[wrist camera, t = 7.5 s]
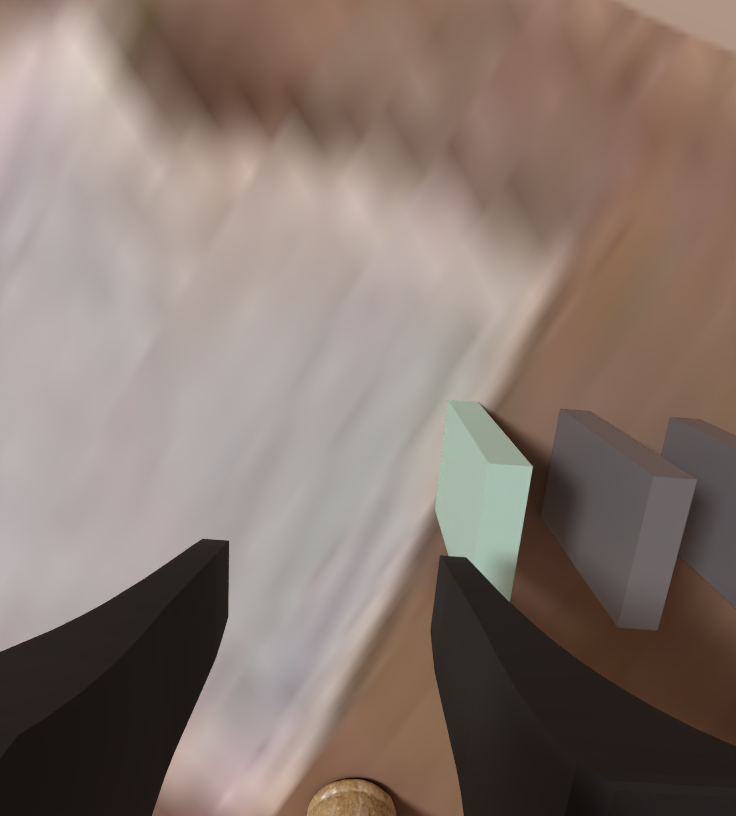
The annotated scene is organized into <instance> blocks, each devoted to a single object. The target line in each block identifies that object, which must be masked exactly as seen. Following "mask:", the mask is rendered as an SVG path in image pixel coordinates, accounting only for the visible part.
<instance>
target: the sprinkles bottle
mask: <svg viewBox="0 0 736 816" xmlns="http://www.w3.org/2000/svg"><path fill="white" fill-rule="evenodd" d="M307 816H396V809H395V807H394V803H393V801H392V799H391V797H390V796H389V795H388V794H387V793H386V792H384V791H383V790H382V789H381V788H380V787H378V786H377V785H375V784H373V783H371V782H368V781H365V780H360V779H351V780H350V779H344V780H340V781H335V782H332V783H330V784H328V785H326V786H325V787H323V788H322V789H321V790H320V791H319V792H318V793H317V794H315V796H314V797H313V799H312V801H311V802H310V804H309V807H308V811H307Z"/></svg>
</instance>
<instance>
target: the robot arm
mask: <svg viewBox="0 0 736 816" xmlns="http://www.w3.org/2000/svg"><path fill="white" fill-rule="evenodd" d="M228 587H229V541H225V540H210V539H202V540H200V541H199V542H197V543H196V544H194V545H193V546H191V547H190V548H188V549H187V550H185V551H184V552H183V553H181V554H180V555H178V556H177V557H175V558H174V559H173V560H171V561H170V562H168V563H167V564H165V565H164V566H162V567H161V568H159V569H158V570H157V571H155V572H154V573H152V574H151V575H149V576H148V577H146V578H145V579H143V580H142V581H140V582H138V583H137V584H135V585H134V586H132V587H130V588H129V589H127V590H125V591H124V592H122V593H120V594H119V595H117V596H116V597H114V598H112V599H111V600H109V601H107V602H106V603H104V604H102V605H100V606H99V607H97V608H95V609H93V610H91V611H89V612H88V613H86V614H84V615H82V616H80V617H78V618H76V619H74V620H72V621H70V622H68V623H66V624H64V625H62V626H60V627H58V628H55V629H53V630H51V631H49V632H47V633H44V634H42V635H39V636H37V637H35V638H32V639H30V640H28V641H25V642H23V643H20V644H18V645H16V646H13V647H11V648H9V649H6V650H4V651H1V652H0V816H152V813H153V810H154V807H155V804H156V801H157V798H158V795H159V792H160V789H161V786H162V784H163V781H164V778H165V775H166V772H167V770H168V767H169V765H170V762H171V760H172V757H173V755H174V752H175V750H176V747H177V745H178V743H179V741H180V738H181V736H182V734H183V732H184V729H185V727H186V725H187V723H188V720H189V718H190V716H191V714H192V711H193V709H194V707H195V705H196V702H197V700H198V698H199V696H200V693H201V691H202V689H203V686H204V684H205V682H206V680H207V677H208V675H209V673H210V670H211V668H212V666H213V663H214V661H215V659H216V656H217V653H218V650H219V646H220V643H221V640H222V637H223V633H224V630H225V626H226V623H227V619H228ZM431 640H432V651H433V660H434V669H435V675H436V680H437V684H438V689H439V693H440V698H441V702H442V707H443V711H444V716H445V720H446V724H447V729H448V733H449V738H450V742H451V747H452V751H453V755H454V760H455V764H456V769H457V774H458V779H459V785H460V790H461V797H462V804H463V812H464V816H736V747H735V746H733V745H731V744H729V743H726V742H724V741H722V740H720V739H717V738H715V737H713V736H711V735H708V734H706V733H704V732H702V731H700V730H697V729H695V728H693V727H691V726H689V725H687V724H685V723H683V722H681V721H679V720H677V719H675V718H674V717H672V716H670V715H668V714H666V713H664V712H662V711H660V710H658V709H656V708H654V707H653V706H651V705H649V704H647V703H646V702H644V701H642V700H640V699H638V698H637V697H635V696H633V695H631V694H630V693H628V692H627V691H625V690H623V689H622V688H620V687H619V686H617V685H615V684H614V683H612V682H611V681H609V680H607V679H606V678H604V677H603V676H601V675H599V674H598V673H596V672H595V671H594V670H592V669H591V668H589V667H588V666H586V665H585V664H583V663H582V662H581V661H579V660H578V659H577V658H575V657H574V656H572V655H571V654H570V653H568V652H567V651H566V650H564V649H563V648H562V647H560V646H559V645H558V644H557V643H555V642H554V641H553V640H552V639H550V638H549V637H548V636H547V635H545V634H544V633H543V632H542V631H541V630H540V629H539V628H537V627H536V626H535V625H534V624H533V623H532V622H531V621H529V620H528V619H527V618H526V617H525V616H524V615H523V614H522V613H521V612H520V611H518V610H517V609H516V608H515V607H514V606H513V605H512V604H511V603H510V602H509V601H508V600H507V599H506V598H505V597H504V596H503V595H502V594H501V593H500V592H499V591H498V590H497V589H496V588H495V587H494V586H493V585H492V584H491V583H490V582H489V580H488V579H487V578H486V577H485V576H484V575H483V574H482V573H481V572H480V571H479V570H478V569H477V568H476V567H475V566H474V565H473V564H472V563H471V562H470V561H469V560H468V559H467V558H466V557H456V556H441V555H440V561H439V569H438V577H437V584H436V592H435V600H434V608H433V615H432V623H431Z"/></svg>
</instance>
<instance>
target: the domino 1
mask: <svg viewBox="0 0 736 816" xmlns="http://www.w3.org/2000/svg"><path fill="white" fill-rule="evenodd" d="M696 483H697V479H696V478H694V477H692V476H691V475H689V474H688V473H686V472H685V471H683V470H681V469H680V468H678V467H677V466H675V465H674V464H672V463H670V462H669V461H667V460H666V459H664V458H663V457H661V456H659V455H658V454H656V453H655V452H653V451H652V450H650V449H648V448H647V447H645V446H644V445H642V444H641V443H639V442H637V441H636V440H634V439H633V438H631V437H630V436H628V435H626V434H625V433H623V432H622V431H620V430H619V429H617V428H615V427H614V426H612V425H611V424H609V423H608V422H606V421H604V420H603V419H601V418H600V417H598V416H597V415H595V414H593V413H592V412H590V411H581V410H568V409H560V412H559V418H558V423H557V429H556V435H555V440H554V446H553V451H552V457H551V462H550V468H549V473H548V479H547V484H546V490H545V495H544V501H543V506H542V512H541V519H542V520H543V522H544V523H545V525H546V526H547V528H548V529H549V530H550V532H551V533H552V535H553V536H554V538H555V539H556V540H557V542H558V543H559V545H560V546H561V548H562V549H563V550H564V552H565V553H566V555H567V556H568V558H569V559H570V561H571V562H572V563H573V565H574V566H575V568H576V569H577V571H578V572H579V573H580V575H581V576H582V578H583V579H584V581H585V582H586V583H587V585H588V586H589V588H590V589H591V591H592V592H593V593H594V595H595V596H596V598H597V599H598V601H599V602H600V604H601V605H602V606H603V608H604V609H605V611H606V612H607V614H608V615H609V616H610V618H611V619H612V621H613V622H614V624H615V625H616V626H617V628H627V629H642V630H657V631H658V627H659V623H660V620H661V616H662V612H663V608H664V604H665V601H666V597H667V593H668V589H669V585H670V582H671V578H672V574H673V570H674V566H675V563H676V559H677V555H678V551H679V547H680V544H681V540H682V536H683V532H684V528H685V524H686V521H687V517H688V513H689V509H690V505H691V502H692V498H693V494H694V490H695V486H696Z"/></svg>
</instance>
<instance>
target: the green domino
mask: <svg viewBox="0 0 736 816" xmlns="http://www.w3.org/2000/svg"><path fill="white" fill-rule="evenodd" d="M532 469H533V466H532V465H531V464H530V463H529V462H528V460H527V459H526V458H525V457H524V456H523V454H522V453H521V452H520V451H519V450H518V449H517V447H516V446H515V445H514V444H513V443H512V442H511V440H510V439H509V438H508V437H507V436H506V434H505V433H504V432H503V431H502V430H501V429H500V427H499V426H498V425H497V424H496V423H495V422H494V420H493V419H492V418H491V417H490V416H489V414H488V413H487V412H486V411H485V410H484V409H483V407H482V406H481V405H480V404H479V403H478V402H469V401H455V400H448V406H447V415H446V423H445V431H444V440H443V448H442V457H441V465H440V473H439V482H438V490H437V499H436V507H435V511H436V514H437V518H438V521H439V525H440V528H441V532H442V535H443V538H444V542H445V545H446V549H447V552H448V556H456V557H466V558H467V559H468V560H469V561H470V562H471V563H472V564H473V565H474V566H475V567H476V568H477V569H478V570H479V571H480V572H481V573H482V574H483V575H484V576H485V577H486V578H487V579H488V580H489V582H490V583H491V584H492V585H493V586H494V587H495V588H496V589H497V590H498V591H499V592H500V593H501V594H502V595H503V596H504V597H505V598H506V599H507V600H508V601H509V602H510V599H511V593H512V587H513V581H514V575H515V569H516V563H517V558H518V552H519V546H520V540H521V534H522V528H523V522H524V516H525V510H526V504H527V498H528V492H529V486H530V481H531V475H532Z"/></svg>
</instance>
